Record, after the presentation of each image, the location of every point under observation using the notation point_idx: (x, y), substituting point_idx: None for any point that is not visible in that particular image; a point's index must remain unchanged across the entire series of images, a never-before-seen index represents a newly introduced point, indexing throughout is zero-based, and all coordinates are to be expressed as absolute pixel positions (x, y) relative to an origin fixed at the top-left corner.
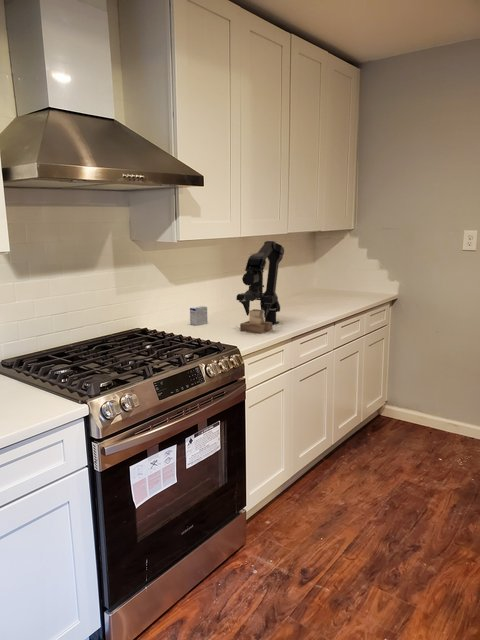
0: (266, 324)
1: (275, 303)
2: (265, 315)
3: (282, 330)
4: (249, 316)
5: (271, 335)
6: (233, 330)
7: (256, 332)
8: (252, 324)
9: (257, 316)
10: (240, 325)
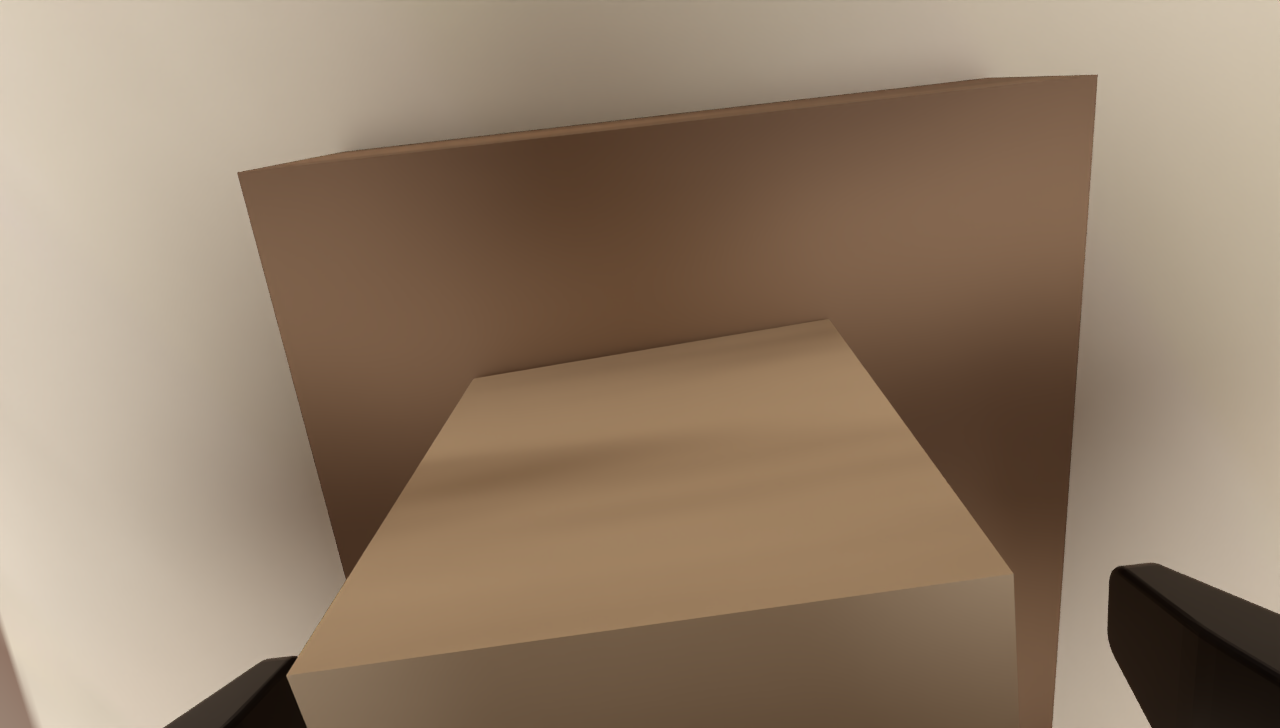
0: (334, 524)
1: None
2: (205, 710)
3: None
4: (894, 409)
5: (22, 169)
6: (1215, 23)
7: (461, 139)
8: (644, 242)
9: (472, 489)
10: (1058, 77)
